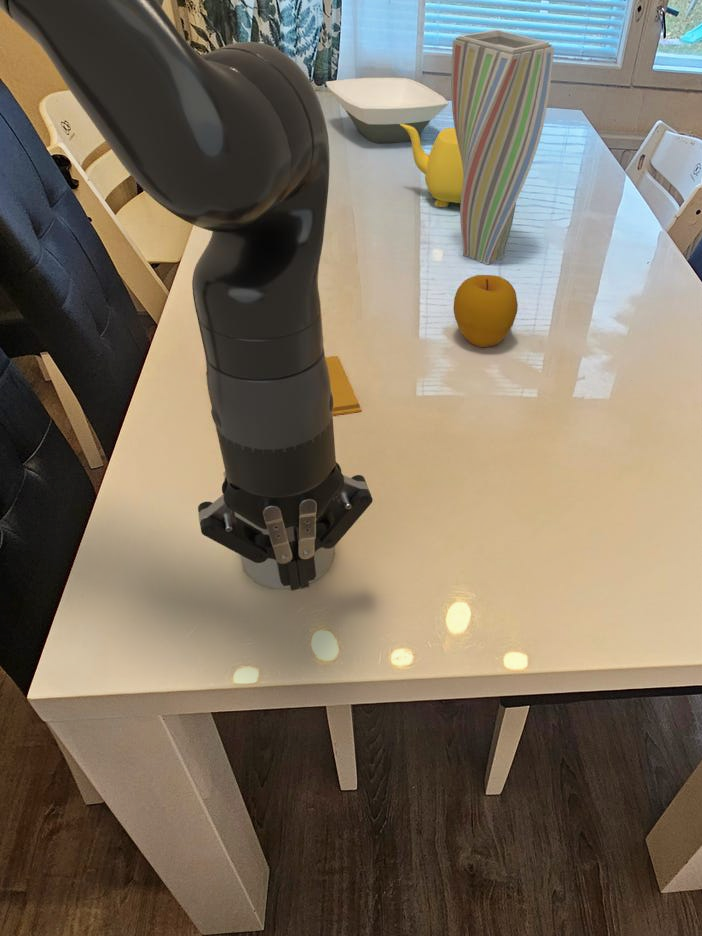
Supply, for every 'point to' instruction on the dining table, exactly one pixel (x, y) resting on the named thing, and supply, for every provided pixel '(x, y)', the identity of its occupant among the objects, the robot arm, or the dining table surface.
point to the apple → (485, 309)
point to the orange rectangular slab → (340, 389)
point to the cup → (268, 570)
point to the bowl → (387, 106)
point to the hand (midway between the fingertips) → (297, 581)
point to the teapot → (440, 165)
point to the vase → (496, 130)
